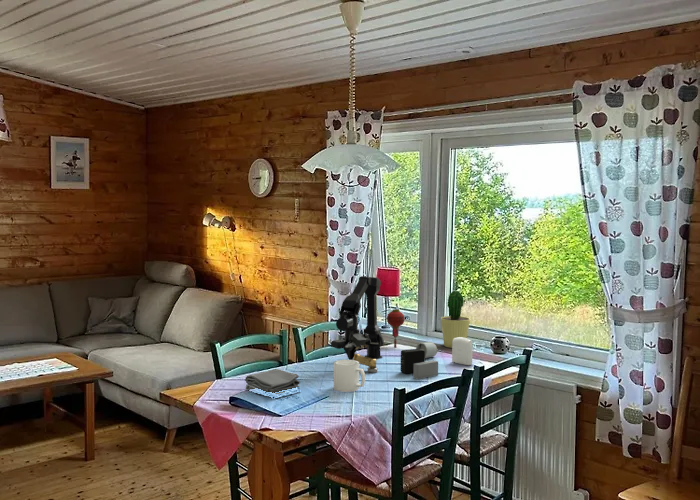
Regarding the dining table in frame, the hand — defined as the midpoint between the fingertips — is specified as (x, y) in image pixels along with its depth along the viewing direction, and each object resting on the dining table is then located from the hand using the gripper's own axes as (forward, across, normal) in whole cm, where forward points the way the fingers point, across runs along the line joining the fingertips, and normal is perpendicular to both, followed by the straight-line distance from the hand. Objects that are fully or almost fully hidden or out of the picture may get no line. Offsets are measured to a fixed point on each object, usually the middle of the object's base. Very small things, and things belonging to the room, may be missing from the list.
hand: (350, 361), depth 308 cm
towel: (+4, -47, -11) cm, 49 cm away
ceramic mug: (+4, +46, 0) cm, 46 cm away
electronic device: (+4, +20, -20) cm, 28 cm away
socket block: (+4, +20, -28) cm, 34 cm away
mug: (+4, -20, -25) cm, 32 cm away
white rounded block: (+4, +51, -20) cm, 55 cm away
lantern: (+4, +49, +24) cm, 55 cm away
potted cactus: (+4, +78, +10) cm, 78 cm away
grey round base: (+4, +6, -9) cm, 11 cm away
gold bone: (+2, +6, -3) cm, 7 cm away
